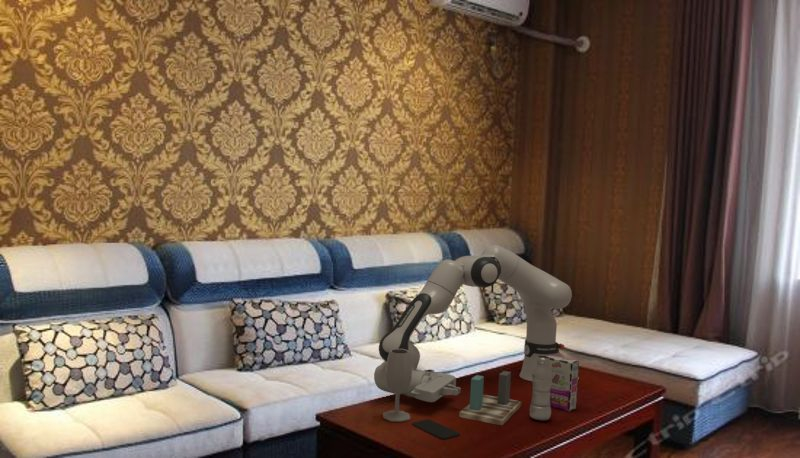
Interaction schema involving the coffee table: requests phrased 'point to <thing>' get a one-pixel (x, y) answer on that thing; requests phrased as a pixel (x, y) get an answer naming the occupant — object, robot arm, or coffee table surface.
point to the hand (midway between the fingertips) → (459, 391)
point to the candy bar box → (563, 382)
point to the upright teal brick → (476, 392)
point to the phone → (436, 429)
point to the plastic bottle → (541, 389)
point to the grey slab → (504, 388)
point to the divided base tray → (491, 411)
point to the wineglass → (398, 381)
